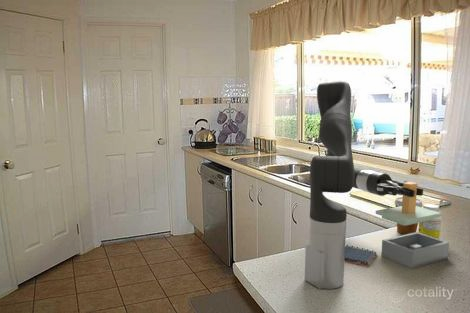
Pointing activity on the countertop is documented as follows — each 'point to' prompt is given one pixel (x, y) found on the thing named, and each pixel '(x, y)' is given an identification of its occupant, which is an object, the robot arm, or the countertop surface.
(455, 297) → the countertop surface
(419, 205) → the disposable coffee cup
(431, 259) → the parts tub
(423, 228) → the supplement bottle
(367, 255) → the woven mat
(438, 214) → the lid
